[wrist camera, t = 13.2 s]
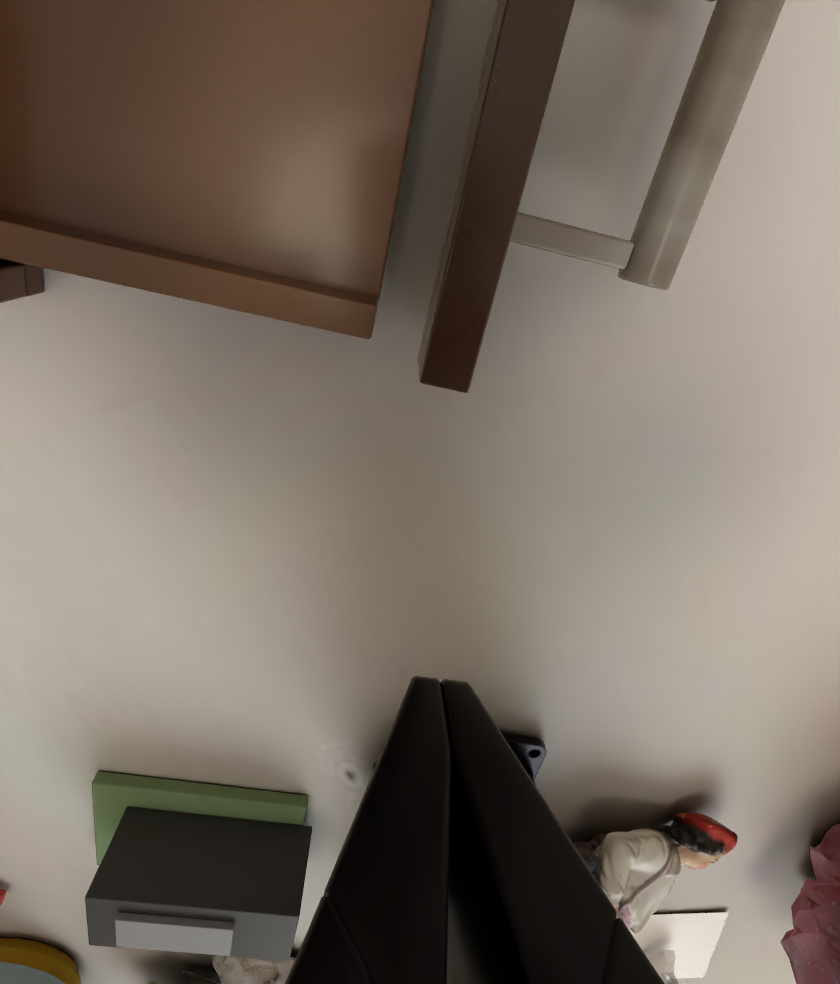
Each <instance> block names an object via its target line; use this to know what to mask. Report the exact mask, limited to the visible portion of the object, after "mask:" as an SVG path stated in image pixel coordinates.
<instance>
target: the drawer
mask: <svg viewBox="0 0 840 984" xmlns="http://www.w3.org/2000/svg"><path fill="white" fill-rule="evenodd" d="M706 1H709V2H713V1H715V0H706ZM574 2H575V0H497V5H496V9H495V14H494V18H493V23H492V27H491V32H490V36H489V41H488V45H487V50H486V54H485V59H484V63H483V67H482V72H481V76H480V81H479V85H478V90H477V94H476V99H475V103H474V108H473V112H472V117H471V121H470V126H469V130H468V135H467V139H466V144H465V148H464V152H463V157H462V161H461V166H460V170H459V175H458V179H457V184H456V188H455V193H454V197H453V202H452V206H451V211H450V215H449V220H448V224H447V229H446V233H445V238H444V242H443V246H442V251H441V255H440V260H439V264H438V269H437V273H436V278H435V282H434V287H433V291H432V296H431V300H430V305H429V309H428V314H427V318H426V323H425V327H424V331H423V336H422V340H421V345H420V349H419V354H418V367H419V378H420V383H422V384H427V385H432V386H436V387H441V388H446V389H450V390H455V391H460V392H464V393H467V392H468V391H469V388H470V384H471V380H472V376H473V373H474V369H475V365H476V362H477V358H478V354H479V351H480V347H481V343H482V340H483V336H484V332H485V329H486V325H487V321H488V318H489V314H490V310H491V307H492V303H493V299H494V296H495V292H496V288H497V285H498V281H499V277H500V274H501V270H502V266H503V263H504V259H505V255H506V252H507V248H508V244H509V241H510V242H514V243H518V244H522V245H526V246H530V247H534V248H538V249H542V250H546V251H550V252H554V253H558V254H562V255H566V256H570V257H574V258H578V259H582V260H586V261H590V262H594V263H598V264H602V265H606V266H610V267H614V268H618V269H620V270H619V273H618V277H619V278H621V279H623V280H627V281H630V282H634V283H637V284H641V285H645V286H649V287H653V288H657V289H662V290H667V289H668V288H669V286H670V284H671V281H672V279H673V277H674V274H675V272H676V269H677V267H678V264H679V262H680V259H681V257H682V254H683V252H684V249H685V247H686V244H687V242H688V239H689V237H690V234H691V232H692V230H693V227H694V225H695V222H696V220H697V217H698V215H699V212H700V210H701V207H702V205H703V202H704V200H705V197H706V195H707V192H708V190H709V188H710V185H711V183H712V180H713V178H714V175H715V173H716V170H717V168H718V165H719V163H720V160H721V158H722V155H723V153H724V150H725V148H726V145H727V143H728V141H729V138H730V136H731V133H732V131H733V128H734V126H735V123H736V121H737V118H738V116H739V113H740V111H741V108H742V106H743V103H744V101H745V99H746V96H747V94H748V91H749V89H750V86H751V84H752V81H753V79H754V76H755V74H756V71H757V69H758V66H759V64H760V61H761V59H762V56H763V54H764V52H765V49H766V47H767V44H768V42H769V39H770V37H771V34H772V32H773V29H774V27H775V24H776V22H777V19H778V17H779V14H780V12H781V10H782V7H783V5H784V2H785V0H717V2H716V5H715V8H714V10H713V13H712V16H711V19H710V21H709V24H708V27H707V30H706V32H705V35H704V38H703V41H702V44H701V46H700V49H699V52H698V55H697V57H696V60H695V63H694V66H693V68H692V71H691V74H690V77H689V79H688V82H687V85H686V88H685V91H684V93H683V96H682V99H681V102H680V104H679V107H678V110H677V113H676V115H675V118H674V121H673V124H672V126H671V129H670V132H669V135H668V138H667V140H666V143H665V146H664V149H663V151H662V154H661V157H660V160H659V162H658V165H657V168H656V171H655V173H654V176H653V179H652V182H651V185H650V187H649V190H648V193H647V196H646V198H645V201H644V204H643V207H642V209H641V212H640V215H639V218H638V220H637V223H636V226H635V229H634V232H633V234H632V237H631V240H630V241H628V240H624V239H620V238H616V237H612V236H608V235H604V234H600V233H597V232H593V231H589V230H585V229H581V228H577V227H573V226H569V225H565V224H562V223H558V222H554V221H550V220H546V219H542V218H538V217H534V216H530V215H527V214H523V213H519V212H517V211H518V207H519V204H520V200H521V196H522V193H523V189H524V185H525V182H526V178H527V174H528V171H529V167H530V163H531V160H532V156H533V152H534V149H535V145H536V141H537V138H538V134H539V130H540V127H541V123H542V119H543V116H544V112H545V108H546V105H547V101H548V97H549V94H550V90H551V86H552V83H553V79H554V75H555V72H556V68H557V64H558V61H559V57H560V53H561V49H562V46H563V42H564V38H565V35H566V31H567V27H568V24H569V20H570V16H571V13H572V9H573V5H574ZM433 3H434V0H0V258H1V259H6V260H10V261H15V262H19V263H24V264H28V265H33V266H38V267H42V268H47V269H51V270H56V271H60V272H65V273H69V274H74V275H78V276H83V277H88V278H92V279H97V280H101V281H106V282H110V283H115V284H119V285H124V286H128V287H133V288H138V289H142V290H147V291H151V292H156V293H160V294H165V295H169V296H174V297H178V298H183V299H187V300H192V301H197V302H201V303H206V304H210V305H215V306H219V307H224V308H228V309H233V310H237V311H242V312H247V313H251V314H256V315H260V316H265V317H269V318H274V319H278V320H283V321H287V322H292V323H296V324H301V325H306V326H310V327H315V328H319V329H324V330H328V331H333V332H337V333H342V334H346V335H351V336H356V337H360V338H365V339H370V338H371V336H372V332H373V328H374V324H375V319H376V313H377V308H378V302H379V297H380V291H381V286H382V280H383V275H384V270H385V264H386V259H387V253H388V248H389V242H390V237H391V231H392V226H393V220H394V215H395V210H396V204H397V199H398V193H399V188H400V182H401V177H402V171H403V166H404V161H405V155H406V150H407V144H408V139H409V133H410V128H411V122H412V117H413V112H414V106H415V101H416V95H417V90H418V84H419V79H420V73H421V68H422V62H423V57H424V52H425V46H426V41H427V35H428V30H429V24H430V19H431V13H432V8H433Z"/></svg>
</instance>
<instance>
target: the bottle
mask: <svg viewBox="0 0 840 984" xmlns="http://www.w3.org/2000/svg"><path fill="white" fill-rule="evenodd" d="M0 984H81V981H80V977H79V973H78V969H77V966H76V963H75V962H74V961H73V960H72V959H71V958H70V957H69V956H68V955H67V954H65V953H63V952H61V951H59V950H58V949H56V948H55V947H52V946H49V945H45V944H43V943H40V942H37V941H31V940H25V939H20V938H0Z"/></svg>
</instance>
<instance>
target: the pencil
mask: <svg viewBox="0 0 840 984" xmlns="http://www.w3.org/2000/svg"><path fill="white" fill-rule="evenodd" d="M5 895H6V890H2V889H0V905H1V904H2V902H3V899H4V897H5Z"/></svg>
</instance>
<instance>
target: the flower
mask: <svg viewBox="0 0 840 984" xmlns="http://www.w3.org/2000/svg"><path fill="white" fill-rule="evenodd" d="M810 857H811V861H812V865H813V869H814V872H815V876H816V879H817V883H816V882H814V881H813V880H811V879H809V878H808V879H807V880H806V881H805V883H804V885H803V887H802V888H801V893H800V894H799V895H798V897H797V899H796V900H795V902H794V903H793V905H792V907H791V908H792V917H793V925H794V929H792V930H790V931H788V932H786V934H785V935H784V937H783V939H782V940H781V944H782V946H783V948H784V950H785V952H786V953H787V955H788V957H789V959H790V963H791V966H792V970H793V973H794V977H795V980H796V983H797V984H840V824H835V825H834V826H833V827H832V828H831V829H829V830H828V831H827V832H826V834H825V836H824V838H823V840H822V842H821V844H820V845H818V846H817V847H815V848H814V847H811V846H810Z"/></svg>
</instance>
